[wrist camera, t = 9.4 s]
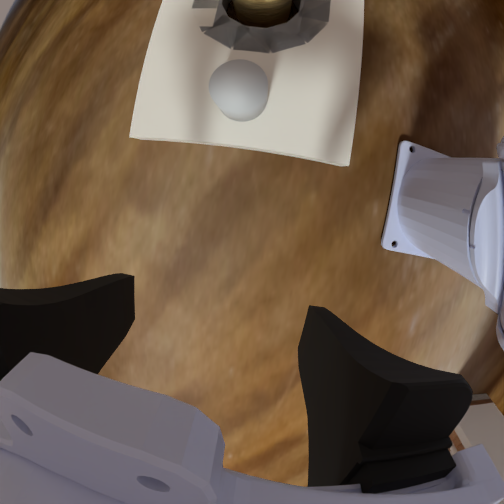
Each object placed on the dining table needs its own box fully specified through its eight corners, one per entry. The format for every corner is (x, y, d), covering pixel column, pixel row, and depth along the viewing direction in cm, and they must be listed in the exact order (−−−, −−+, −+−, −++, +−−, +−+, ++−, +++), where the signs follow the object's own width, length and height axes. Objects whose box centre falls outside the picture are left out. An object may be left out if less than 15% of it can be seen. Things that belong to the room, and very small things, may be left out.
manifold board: (357, -12, 14) (375, -45, 9) (340, 166, 18) (364, 165, 14) (185, -31, 14) (170, -64, 9) (141, 139, 18) (106, 132, 14)
